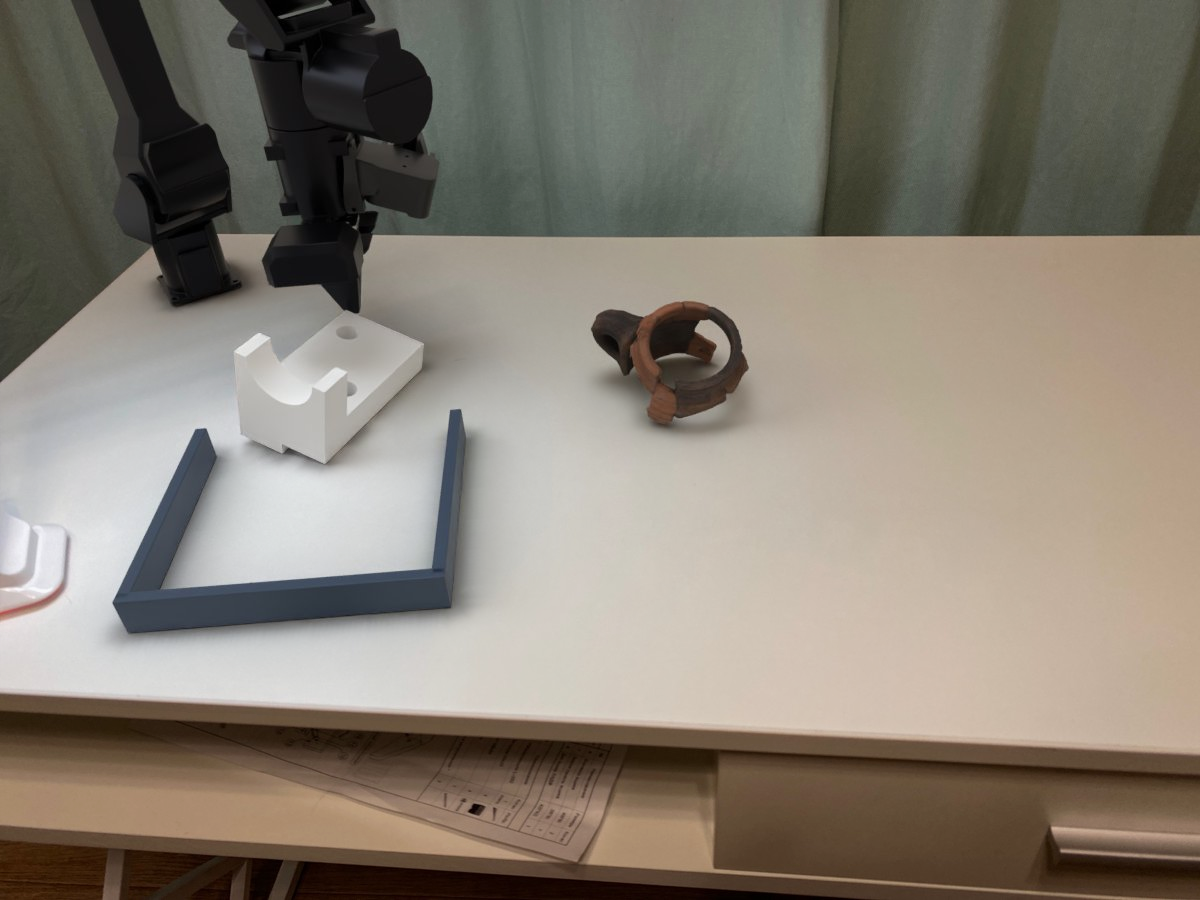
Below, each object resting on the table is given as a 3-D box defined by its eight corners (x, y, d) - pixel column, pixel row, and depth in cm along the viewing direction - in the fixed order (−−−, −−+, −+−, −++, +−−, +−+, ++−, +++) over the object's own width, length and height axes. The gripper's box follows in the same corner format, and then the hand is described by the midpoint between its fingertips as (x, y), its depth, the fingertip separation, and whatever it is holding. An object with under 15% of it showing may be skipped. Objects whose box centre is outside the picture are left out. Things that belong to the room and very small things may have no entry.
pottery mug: (749, 363, 75) (770, 309, 67) (711, 467, 71) (730, 422, 63) (606, 313, 76) (612, 254, 68) (563, 413, 72) (563, 362, 65)
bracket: (325, 473, 67) (324, 392, 62) (240, 434, 68) (233, 351, 63) (420, 378, 76) (427, 301, 71) (345, 345, 77) (346, 266, 72)
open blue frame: (206, 456, 67) (195, 428, 66) (466, 436, 68) (461, 408, 66) (127, 633, 54) (111, 603, 53) (451, 607, 54) (444, 576, 53)
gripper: (410, 157, 59) (447, 366, 69) (431, 71, 74) (459, 253, 84) (231, 170, 59) (293, 379, 69) (288, 81, 74) (333, 263, 83)
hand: (353, 312), depth 76 cm, fingers closed
